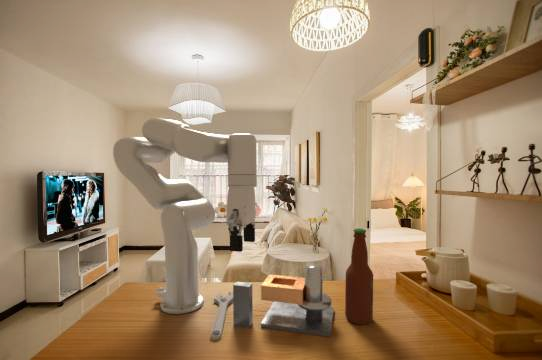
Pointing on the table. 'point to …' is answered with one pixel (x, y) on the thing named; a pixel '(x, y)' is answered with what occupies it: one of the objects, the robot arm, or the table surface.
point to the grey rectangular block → (242, 304)
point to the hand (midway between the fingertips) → (243, 246)
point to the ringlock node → (298, 303)
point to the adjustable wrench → (220, 314)
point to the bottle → (359, 283)
